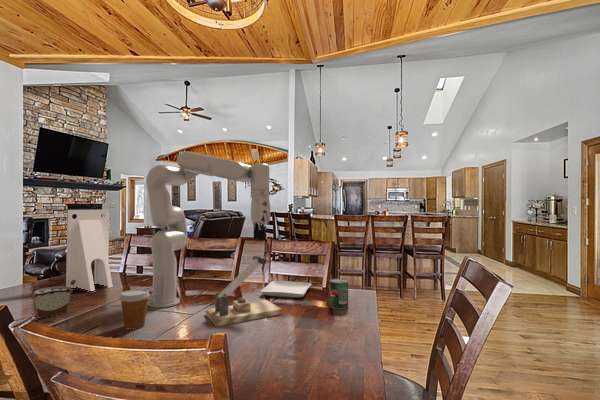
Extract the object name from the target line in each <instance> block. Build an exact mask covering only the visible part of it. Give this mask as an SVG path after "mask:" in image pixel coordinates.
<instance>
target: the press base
mask: <svg viewBox="0 0 600 400" xmlns="http://www.w3.org/2000/svg"><path fill="white" fill-rule="evenodd" d="M221 292H222V291H221ZM221 292H215V295H214V296H215V302H214V308H209V309H208V308H206V309H205V315H206V317H208V319H210V321H211V322H212V323H213V324H214V325H215V327H220V326H225V325H229V324H236V323H240V322H246V321H251V320H258V319H263V318H269V317H272V316H273V317H274V316H279V315H282V311H283V310H282V308H281V307H279V306H278V305H276V304H274V303H273V302H271V301H269V300H268V299H266V300H265V299H264V300H258V301H253V302H251V301H248V300H247V299H245V298H244V297H239V298H238V300H237V299H236V300H232V305H229V296H228V295H227V296H220V299H219V298H218V297H217V296H218V295H219V294H220V293H221Z"/></svg>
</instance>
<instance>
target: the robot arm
mask: <svg viewBox="0 0 600 400" xmlns="http://www.w3.org/2000/svg"><path fill="white" fill-rule="evenodd" d="M176 163H177V165H178V166H174V165H169V164H158V165H157V164H156V165H155V166H153V167H152V168H151V169H150V170H148V173H147V175H146V179H145V182H146V183H145V184H146V190H147V195H148V200H149V208H150V210H149V211H150V217H151V222H152V224H153V225H154V226H155V227H156V228H166V229H167V230H159V231H157V232H155V233H154V235H152V237H151V240H150V247H151V248H150V249H151V254H152V292H151V293H150V296H149V298H148V304H147V306H149V307H150V308H157V309H158V308H159V309H161V308H169V307H172V306H177V305H178V304H180V303H181V299H180V298H179V297H177V276H178V275H177V272H178V269H177V267H178V266H177V265H178V261H177V258H176V254H175V251H179V250H182V249H184V248H185V247H186V246H187V244H188V241H189V240H188V238H189V237H188V228H187V221H186V220H187V219H186V214H185V213H184V210H182V208H181V207H178V206H176V205H172V201H171V195H170V192H169V190H168V188H167V185H168V186H177V187H178V186H184V185H185V184H187V183H188V182H190V181H191V180H193V179H194V178H196V177H198V176H199V175H203V176H204V175H205V176H208V177H217V178H221V179H225V180H230V181H235V182H240V183H250V198H251V201H250V202H251V203H250V220H251V222H252V225H253V227H252V228H253V240H258V241H265V240H266V239H267V238H266V236H267V235H266V232H267V226H268V224H269V223H270V221H271V203H270V202H271V201H270V166H269V164H267V163H260V162H259V163H257V162H256V163H253V164H246V163H243V162H240V161H236V160H230V159H226V158H221V157H217V156H214V155H210V154H209V155H208V154H204V153H199V152H195V151H188V150H187V151H186V150H185V151H182V152H180V153H179V154H178V156H177V158H176Z"/></svg>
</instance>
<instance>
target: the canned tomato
mask: <svg viewBox="0 0 600 400" xmlns="http://www.w3.org/2000/svg"><path fill="white" fill-rule="evenodd" d="M329 307H330V308H332V309H335V310H345V309H348V308H349V280H348V279H346V278H331V279H329Z"/></svg>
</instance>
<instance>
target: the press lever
mask: <svg viewBox="0 0 600 400" xmlns="http://www.w3.org/2000/svg"><path fill="white" fill-rule="evenodd" d="M266 263H267V259H266V257H265V256H264V255H263V254H260V253H259V255H254V256H252V261H251V262H250V264H248V265H247V266H246V267H245V268H244V269H243V270H242V271H241V272H240V273H238V275H237V276H236V277H235V278H234V279H233V280H232V281H231V282H230V283H229V284H228V285H227V286H226V287H225V288H224V289H223V290H222V291H221V293H220V294H219V295H218V296H217V297H218V298H219V299H220V296H227V295H228V297H230V295H231V294H232V293H233V292H234V291H235V290H237V288H238V287H240V285H241V284H243V283H244V282H245V280H246V279H248V277H249V276H250V275H251V274H252V273H253V272H254V271H256V270H257V268H258V267H259V266H260V265H265V264H266Z"/></svg>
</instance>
